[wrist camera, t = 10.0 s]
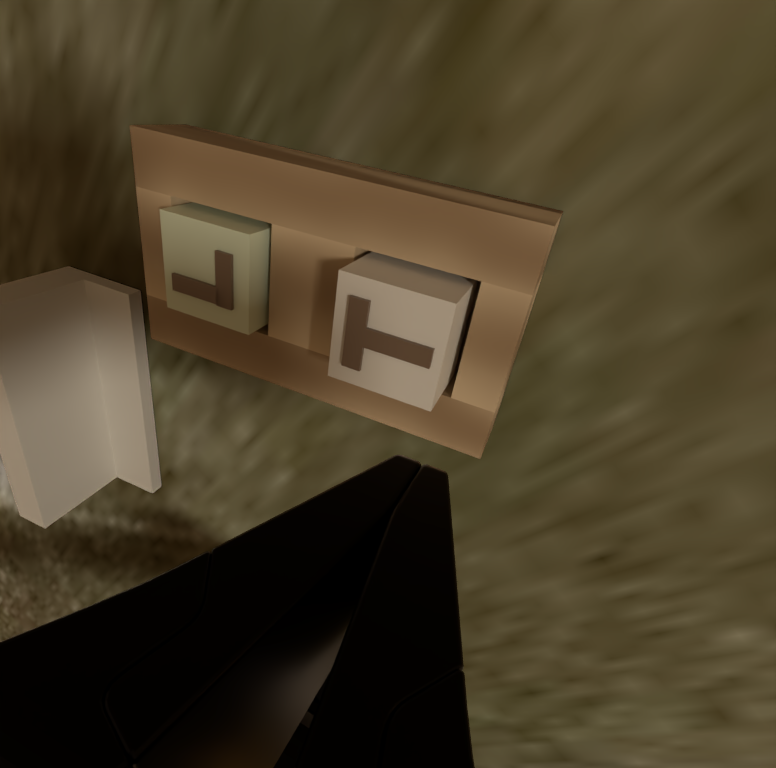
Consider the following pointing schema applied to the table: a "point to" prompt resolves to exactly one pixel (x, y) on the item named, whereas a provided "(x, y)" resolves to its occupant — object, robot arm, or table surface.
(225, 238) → the button
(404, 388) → the T button
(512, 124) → the table surface
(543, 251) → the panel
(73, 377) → the grey screen
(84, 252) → the table surface
